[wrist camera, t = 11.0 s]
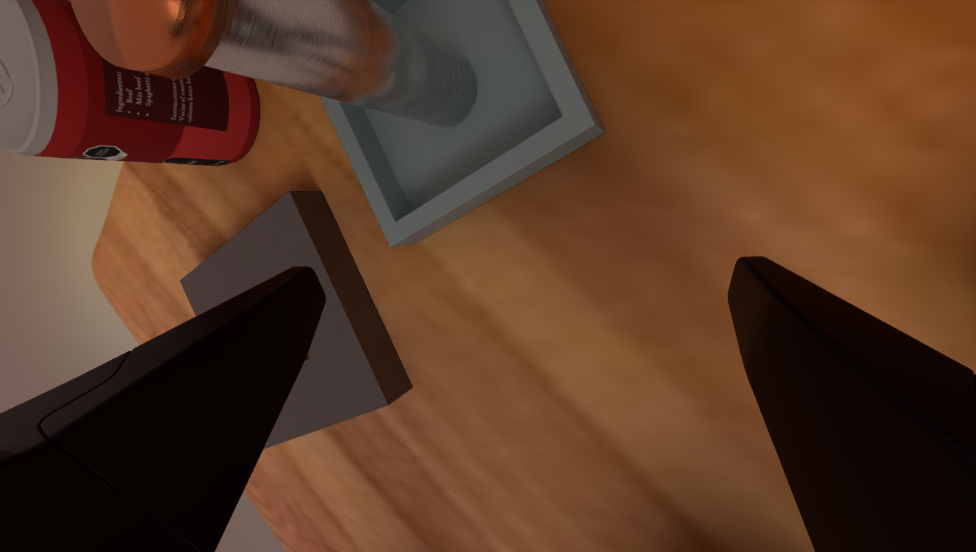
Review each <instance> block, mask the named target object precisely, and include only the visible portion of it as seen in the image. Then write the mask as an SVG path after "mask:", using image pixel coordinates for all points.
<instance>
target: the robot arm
mask: <svg viewBox="0 0 976 552" xmlns="http://www.w3.org/2000/svg"><path fill="white" fill-rule="evenodd" d="M325 303H326V295H325V292H324V289H323V287H322V285H321V283H320V281H319V279H318V277H317V275H316V272H315V271H314V269H313V268H312V267H309V266H294V267H291V268H289V269H287V270H285V271H283V272H281V273H279V274H277V275H276V276H274V277H272V278H270V279H268V280H266V281H264V282H262V283H260V284H258V285H256V286H254V287H252V288H250V289H248V290H246V291H244V292H242V293H241V294H239V295H237V296H235V297H233V298H231V299H229V300H227V301H225V302H223V303H221V304H219V305H217V306H215V307H213V308H211V309H209V310H208V311H206V312H204V313H202V314H200V315H198V316H196V317H194V318H192V319H190V320H188V321H186V322H184V323H182V324H180V325H178V326H176V327H175V328H173V329H171V330H169V331H167V332H165V333H163V334H161V335H159V336H157V337H155V338H153V339H151V340H149V341H147V342H145V343H143V344H142V345H140V346H138V347H136V348H134V349H133V350H132V351H128V352H126V353H124V354H122V355H120V356H119V357H116V358H114V359H112V360H111V361H108V362H106V363H104V364H103V365H100V366H98V367H96V368H94V369H93V370H91V371H88V372H87V373H84V374H82V375H81V376H79V377H76V378H75V379H72V380H70V381H68V382H66V383H64V384H62V385H60V386H58V387H56V388H54V389H51V390H49V391H47V392H45V393H43V394H41V395H39V396H37V397H35V398H32V399H30V400H28V401H26V402H24V403H22V404H20V405H17V406H15V407H13V408H11V409H9V410H7V411H5V412H3V413H0V552H215V550H216V548H217V546H218V544H219V542H220V540H221V538H222V535H223V533H224V531H225V529H226V527H227V525H228V523H229V520H230V518H231V516H232V514H233V512H234V510H235V508H236V506H237V504H238V502H239V499H240V497H241V495H242V493H243V491H244V489H245V487H246V485H247V483H248V480H249V478H250V476H251V474H252V472H253V470H254V468H255V466H256V464H257V461H258V459H259V457H260V455H261V453H262V451H263V449H264V447H265V445H266V442H267V440H268V438H269V436H270V434H271V432H272V430H273V428H274V426H275V423H276V421H277V419H278V417H279V415H280V413H281V411H282V409H283V407H284V404H285V402H286V400H287V398H288V396H289V394H290V392H291V390H292V388H293V385H294V383H295V381H296V379H297V377H298V375H299V373H300V371H301V368H302V366H303V364H304V362H305V360H306V357H307V354H308V352H309V349H310V346H311V344H312V341H313V338H314V335H315V332H316V329H317V326H318V324H319V321H320V318H321V315H322V312H323V309H324V306H325ZM728 303H729V308H730V312H731V316H732V320H733V324H734V328H735V332H736V336H737V341H738V345H739V349H740V353H741V357H742V361H743V365H744V368H745V371H746V374H747V377H748V380H749V383H750V385H751V388H752V390H753V393H754V396H755V398H756V401H757V403H758V406H759V408H760V411H761V414H762V416H763V419H764V421H765V424H766V426H767V429H768V432H769V434H770V437H771V439H772V442H773V444H774V447H775V450H776V452H777V455H778V457H779V460H780V463H781V465H782V468H783V470H784V473H785V475H786V478H787V481H788V483H789V486H790V488H791V491H792V493H793V496H794V499H795V501H796V504H797V506H798V509H799V511H800V514H801V517H802V519H803V522H804V524H805V527H806V529H807V532H808V535H809V537H810V540H811V542H812V545H813V547H814V550H815V552H976V374H975V375H974V372H973V370H971V369H969V368H968V367H966V366H964V365H962V364H960V363H958V362H957V361H955V360H953V359H951V358H949V357H947V356H946V355H944V354H942V353H940V352H938V351H936V350H935V349H933V348H931V347H929V346H927V345H925V344H924V343H922V342H920V341H918V340H916V339H914V338H913V337H911V336H909V335H907V334H905V333H903V332H902V331H900V330H898V329H896V328H894V327H892V326H891V325H889V324H887V323H885V322H883V321H881V320H880V319H878V318H876V317H874V316H872V315H870V314H869V313H867V312H865V311H863V310H861V309H859V308H858V307H856V306H854V305H852V304H850V303H848V302H847V301H845V300H843V299H841V298H839V297H837V296H836V295H834V294H832V293H830V292H828V291H826V290H825V289H823V288H821V287H819V286H817V285H815V284H814V283H812V282H810V281H808V280H806V279H804V278H803V277H801V276H799V275H797V274H795V273H793V272H792V271H790V270H788V269H786V268H784V267H782V266H781V265H779V264H777V263H775V262H773V261H771V260H770V259H768V258H766V257H762V256H753V257H741V258H739V259H738V260H737V262H736V264H735V268H734V271H733V275H732V279H731V282H730V286H729V290H728Z"/></svg>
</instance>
